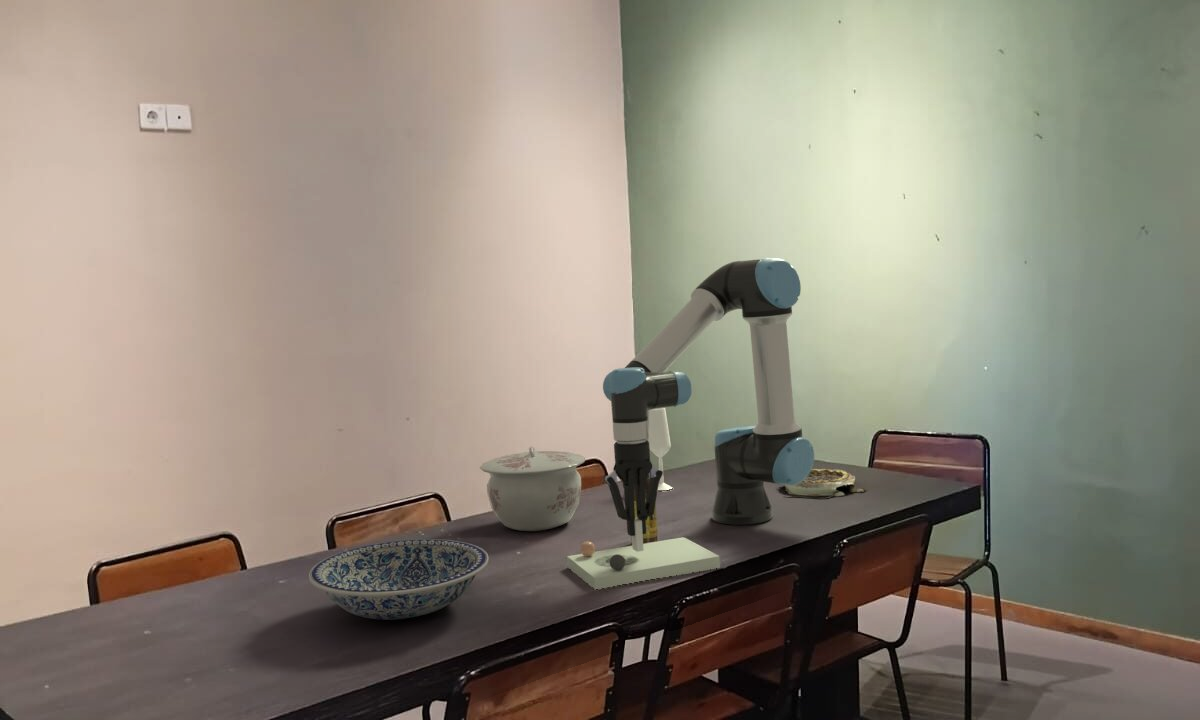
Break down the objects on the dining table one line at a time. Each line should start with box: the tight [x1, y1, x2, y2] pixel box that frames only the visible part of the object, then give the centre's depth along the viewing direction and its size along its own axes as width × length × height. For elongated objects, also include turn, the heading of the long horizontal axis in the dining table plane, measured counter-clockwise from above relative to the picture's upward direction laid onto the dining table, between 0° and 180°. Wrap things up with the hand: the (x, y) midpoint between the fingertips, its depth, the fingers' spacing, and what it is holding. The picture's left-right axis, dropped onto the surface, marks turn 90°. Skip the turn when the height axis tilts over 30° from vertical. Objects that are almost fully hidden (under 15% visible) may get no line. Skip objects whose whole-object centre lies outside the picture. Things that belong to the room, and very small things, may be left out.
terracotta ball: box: [580, 540, 596, 556], centre depth 207 cm, size 3×3×3 cm
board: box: [566, 536, 721, 591], centre depth 204 cm, size 28×18×2 cm, turn 110°
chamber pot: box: [479, 446, 586, 532], centre depth 248 cm, size 28×28×21 cm
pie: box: [780, 468, 869, 500], centre depth 270 cm, size 28×27×5 cm
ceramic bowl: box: [308, 538, 489, 621], centre depth 186 cm, size 34×34×10 cm
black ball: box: [610, 554, 625, 570], centre depth 195 cm, size 3×3×3 cm
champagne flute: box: [647, 407, 673, 490], centre depth 281 cm, size 7×7×24 cm
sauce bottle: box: [633, 474, 658, 544], centre depth 223 cm, size 7×6×20 cm
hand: (637, 549), depth 204 cm, fingers closed
